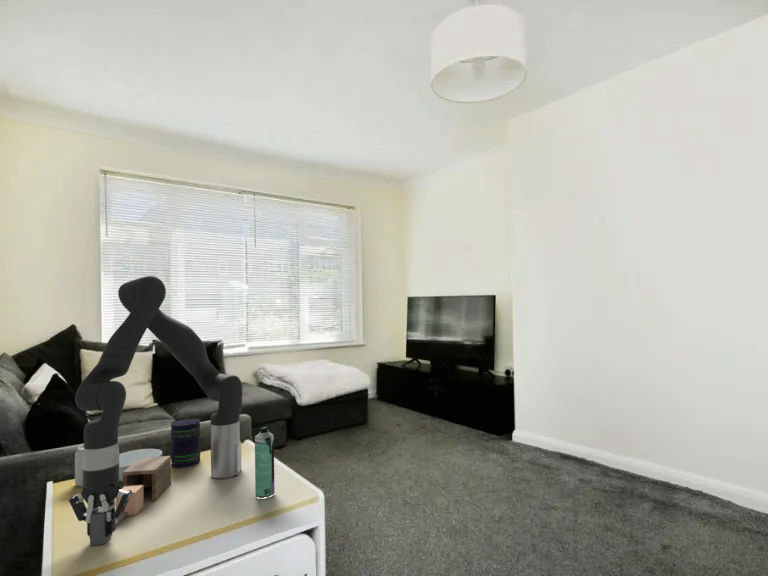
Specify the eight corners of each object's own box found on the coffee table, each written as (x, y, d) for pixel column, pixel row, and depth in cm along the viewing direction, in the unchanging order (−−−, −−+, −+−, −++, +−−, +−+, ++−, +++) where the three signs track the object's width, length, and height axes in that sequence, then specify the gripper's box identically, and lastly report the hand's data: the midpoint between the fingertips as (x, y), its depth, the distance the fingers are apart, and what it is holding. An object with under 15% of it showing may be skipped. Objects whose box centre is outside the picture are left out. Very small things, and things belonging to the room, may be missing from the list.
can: (108, 478, 144) (108, 442, 144) (90, 488, 136) (90, 449, 137) (87, 478, 145) (87, 442, 145) (68, 487, 137) (69, 449, 138)
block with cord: (143, 506, 122) (143, 481, 123) (108, 543, 103) (108, 513, 103) (124, 507, 122) (124, 482, 122) (85, 545, 102) (85, 515, 103)
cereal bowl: (132, 467, 154) (132, 447, 154) (173, 469, 151) (173, 449, 151) (91, 487, 137) (91, 464, 138) (136, 490, 134) (136, 467, 134)
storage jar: (167, 463, 157) (166, 422, 157) (194, 456, 163) (194, 416, 164) (175, 470, 150) (175, 427, 150) (204, 463, 156) (204, 421, 157)
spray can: (278, 493, 129) (277, 425, 130) (266, 501, 124) (265, 430, 125) (264, 490, 131) (263, 424, 132) (251, 497, 126) (250, 429, 127)
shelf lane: (170, 484, 138) (170, 455, 138) (155, 501, 126) (155, 469, 126) (141, 486, 137) (141, 457, 137) (122, 503, 125) (122, 472, 125)
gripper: (138, 456, 110) (138, 525, 109) (79, 460, 108) (78, 530, 107) (124, 467, 102) (124, 541, 102) (60, 471, 101) (60, 547, 100)
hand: (101, 535), depth 105 cm, fingers closed on block with cord, 3 cm apart
